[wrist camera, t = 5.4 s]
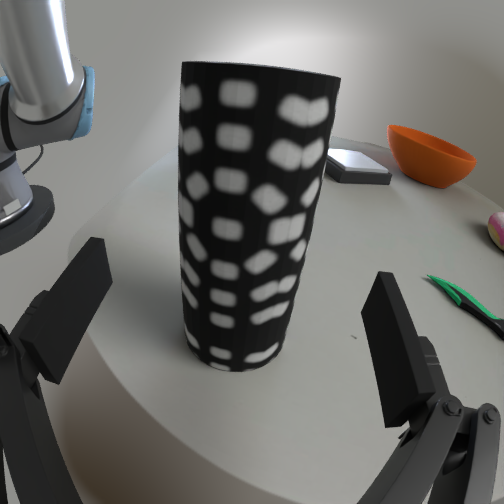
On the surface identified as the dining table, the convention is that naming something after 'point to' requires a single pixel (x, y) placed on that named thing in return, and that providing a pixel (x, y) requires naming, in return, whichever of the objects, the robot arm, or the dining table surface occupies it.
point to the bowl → (428, 157)
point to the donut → (497, 228)
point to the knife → (471, 305)
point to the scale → (355, 168)
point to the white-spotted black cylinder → (247, 202)
